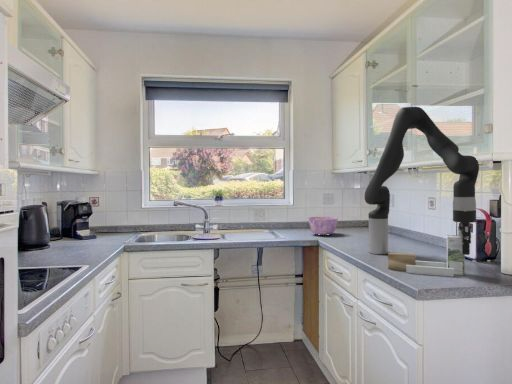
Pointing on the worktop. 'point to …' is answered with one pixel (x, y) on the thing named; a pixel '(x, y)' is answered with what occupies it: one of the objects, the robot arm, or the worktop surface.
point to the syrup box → (455, 254)
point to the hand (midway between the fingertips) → (464, 252)
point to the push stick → (400, 260)
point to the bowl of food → (323, 225)
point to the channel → (429, 268)
